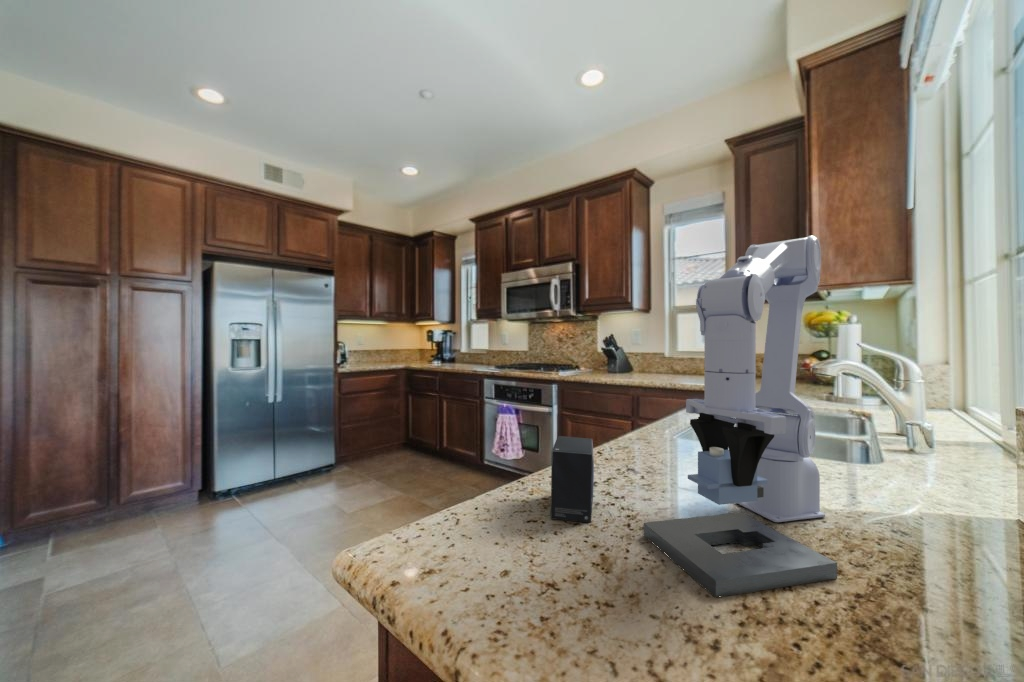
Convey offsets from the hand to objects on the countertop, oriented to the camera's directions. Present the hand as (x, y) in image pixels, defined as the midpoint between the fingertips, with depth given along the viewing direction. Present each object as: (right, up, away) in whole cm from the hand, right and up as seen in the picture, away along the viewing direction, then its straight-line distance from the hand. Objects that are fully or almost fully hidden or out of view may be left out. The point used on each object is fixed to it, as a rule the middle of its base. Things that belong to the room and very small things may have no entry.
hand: (729, 479), depth 51 cm
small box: (-18, -10, +14) cm, 25 cm away
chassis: (0, -9, 0) cm, 9 cm away
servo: (0, -2, 0) cm, 2 cm away
